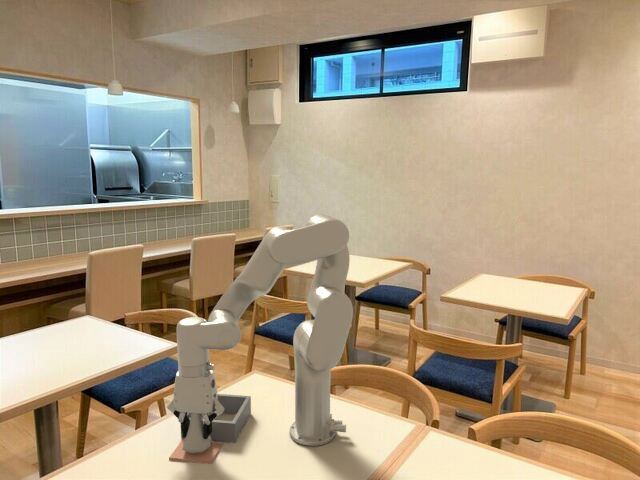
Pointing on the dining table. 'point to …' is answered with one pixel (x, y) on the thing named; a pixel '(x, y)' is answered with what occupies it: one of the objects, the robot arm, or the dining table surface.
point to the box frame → (232, 429)
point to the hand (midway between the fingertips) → (196, 434)
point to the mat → (198, 457)
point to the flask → (196, 435)
